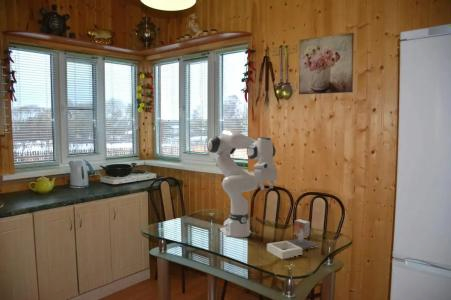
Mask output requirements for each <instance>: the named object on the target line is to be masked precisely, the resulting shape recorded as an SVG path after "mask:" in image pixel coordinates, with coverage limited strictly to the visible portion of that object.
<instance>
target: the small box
mask: <svg viewBox="0 0 451 300" xmlns="http://www.w3.org/2000/svg"><path fill="white" fill-rule="evenodd" d="M310 224H311V222H310V221H307V220H303V219H302V218H301V219H300V218H299V219H295V221H294V233H293V235H296V236H295V237H297V236H298V235H299V233H300V232H302V233H303V234H304V237H307V236H309V237H310V229H311V228H310Z"/></svg>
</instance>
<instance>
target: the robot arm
mask: <svg viewBox="0 0 451 300" xmlns="http://www.w3.org/2000/svg"><path fill="white" fill-rule="evenodd" d="M206 144H207V145H206V147H207V150H208V151H209V152H210V153H214V154H216V153H218V154H216V156H215V162H216V164H217V166H218V168H219V169H220V171H221V173H222V174H223V176H224V178H222V179H223V180H222V182H221V186H222V189H223V191H224V192H226V194H227V195H228V197H229V199H230V212H229V213H228V214H229V216H228V218H227V219H226V220H224V221H223V224H222V227H220V228H219V230H220V231H221V233H222V234H223V235H224V236H225V237H232V238H247V237H249V236H250V234H252V231H251V230H250V220H249V213H248V212H249V201H248V200H247V199H246V198H244V197H243V193H246V192H251V191H254V190H256V189H257V188H258V186H259V187H260V190H261V191H264V190H265V189H266V188H265V187H266V186H264V182H269V186H268V188H269V189H274V183H275V181H277V180H278V179H279V178H278V170H277V168H276V166H275V164H274V163H275V160H274V157H275V156H276V153H277V151H276V147H275V146H274V144H273V141H272V138H270V137H267V136H261V137H258V138H257V139H255V138H252V137H250V136H247V135H245V134H244V133H241V132H239V131H238V130H235V129H232V128H225V129H224V130H223V129H222V131H221V133H220V136H217V135H216V136H213V137H211V138H209V139H208V140H207V143H206ZM236 150H246V155H247V157H248V158H249V159H250V160H254V161H256V160H257V162H256V163H255V164H253V170H254V171H253V174H250V173H248V172H247V171H245V170H243V169H242V168H241V167H240V166H238V164H237V163H236V162H235V161H234V159H233V157H232V156H231V155H233V154H234V153H235V151H236Z"/></svg>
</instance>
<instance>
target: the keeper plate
mask: <svg viewBox="0 0 451 300" xmlns="http://www.w3.org/2000/svg"><path fill="white" fill-rule="evenodd" d="M303 238H304V234H303V233H302V232H300V233H299V235H298V237H297V238H296V239H295V238H294V239H288V240H287V241H288V242H290V243H292V244H295V245H297V246H299V247H301V248H302V251H304V250H303V249H307V248H311V247H315V246H319V245H318V244H316V243H313V242H312V241H309V240H306V239H303Z"/></svg>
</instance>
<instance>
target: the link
mask: <svg viewBox="0 0 451 300" xmlns="http://www.w3.org/2000/svg"><path fill="white" fill-rule="evenodd" d="M266 251H267V252H268V253H270V254H271V255H274V256H275V257H278V258H279V259H281V260H284V259H291V258H295V257H294V256H296V257H299V256H298V255H302V256H303V250H302V248H301V247H299V246H297V245H295V244H292V243H290V242H288V240H283V241H282V240H281V241H276V242H269V243H266ZM290 257H291V258H290Z"/></svg>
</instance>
